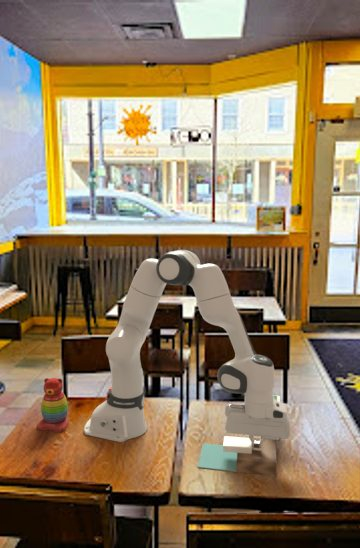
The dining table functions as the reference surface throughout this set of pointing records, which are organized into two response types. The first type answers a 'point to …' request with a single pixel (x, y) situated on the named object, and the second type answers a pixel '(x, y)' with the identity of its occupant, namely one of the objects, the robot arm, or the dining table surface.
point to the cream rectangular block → (237, 445)
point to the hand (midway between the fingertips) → (256, 447)
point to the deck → (258, 459)
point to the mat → (217, 458)
